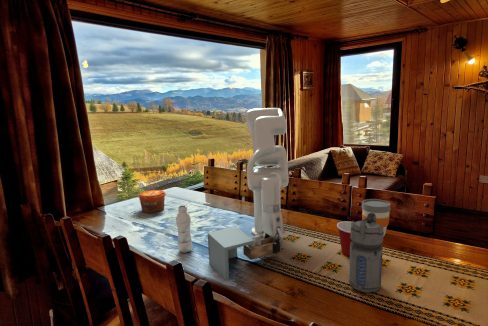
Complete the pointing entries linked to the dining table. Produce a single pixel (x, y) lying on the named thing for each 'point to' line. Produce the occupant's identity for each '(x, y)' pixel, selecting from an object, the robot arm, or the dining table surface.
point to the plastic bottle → (183, 230)
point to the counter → (225, 248)
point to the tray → (259, 247)
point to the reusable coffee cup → (377, 211)
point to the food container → (152, 201)
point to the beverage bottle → (366, 254)
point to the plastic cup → (345, 236)
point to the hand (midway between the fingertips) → (271, 249)
